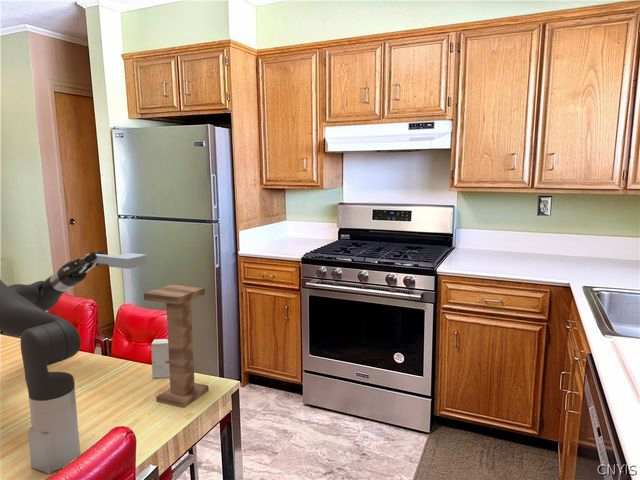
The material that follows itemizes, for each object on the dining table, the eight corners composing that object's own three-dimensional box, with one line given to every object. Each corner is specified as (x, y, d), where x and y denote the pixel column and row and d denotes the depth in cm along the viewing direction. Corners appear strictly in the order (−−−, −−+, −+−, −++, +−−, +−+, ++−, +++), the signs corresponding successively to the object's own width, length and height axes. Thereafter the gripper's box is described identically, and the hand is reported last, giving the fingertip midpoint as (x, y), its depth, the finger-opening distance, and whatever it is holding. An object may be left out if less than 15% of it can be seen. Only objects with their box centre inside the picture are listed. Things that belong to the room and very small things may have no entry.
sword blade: (128, 268, 134) (127, 258, 133) (78, 263, 142) (77, 254, 141) (148, 264, 141) (147, 254, 140) (99, 259, 149) (99, 250, 149)
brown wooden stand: (182, 408, 131) (177, 297, 126) (149, 399, 136) (143, 293, 131) (208, 390, 142) (204, 288, 137) (177, 383, 146) (172, 284, 142)
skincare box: (152, 378, 150) (150, 343, 148) (155, 373, 154) (153, 339, 153) (171, 377, 151) (169, 342, 149) (173, 371, 155) (172, 338, 153)
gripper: (90, 282, 156) (121, 260, 149) (53, 291, 144) (84, 268, 137) (81, 263, 157) (111, 240, 150) (43, 270, 144) (74, 246, 137)
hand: (98, 254), depth 143 cm, fingers closed on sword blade, 2 cm apart
